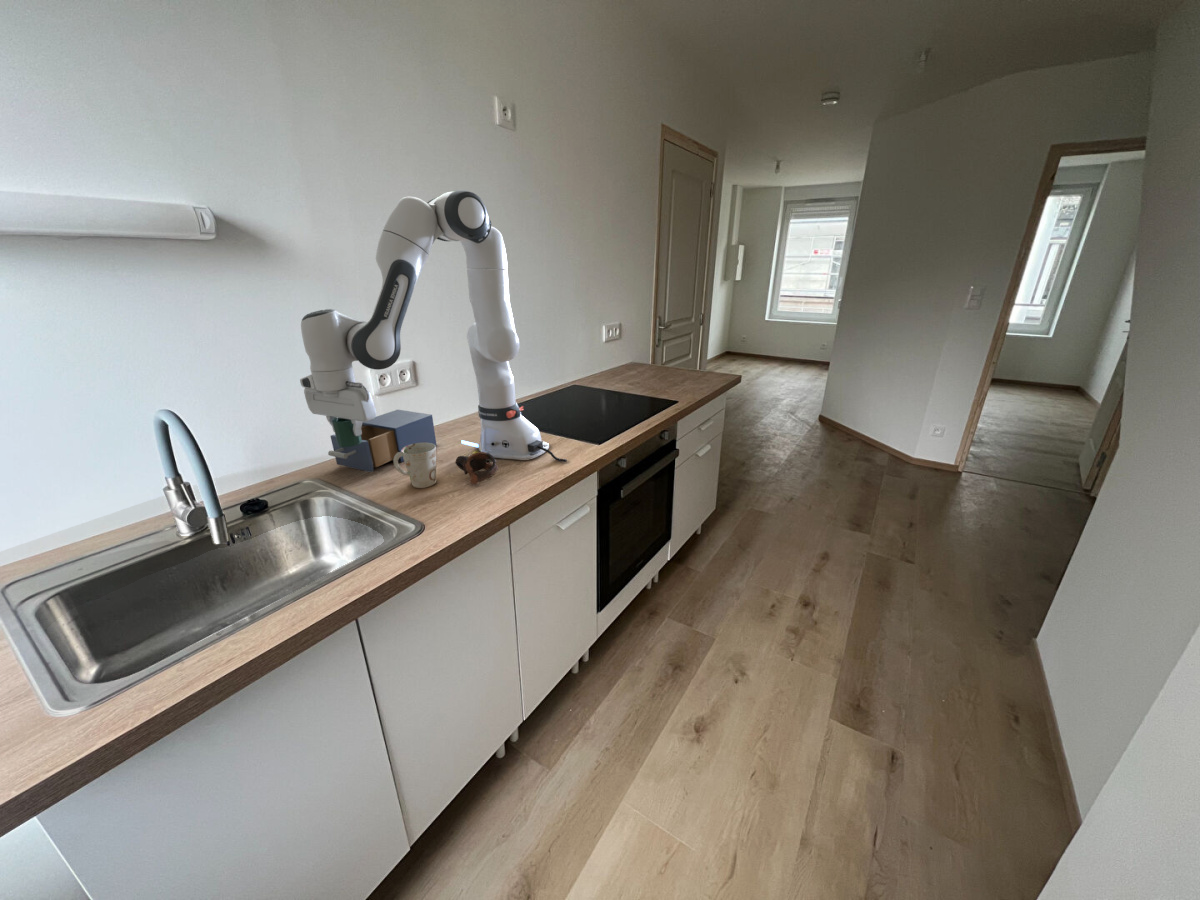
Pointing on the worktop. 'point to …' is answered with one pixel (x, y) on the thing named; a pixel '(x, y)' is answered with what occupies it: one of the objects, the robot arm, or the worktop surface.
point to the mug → (418, 463)
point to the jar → (345, 433)
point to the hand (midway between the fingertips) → (347, 433)
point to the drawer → (367, 449)
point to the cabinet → (406, 427)
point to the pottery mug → (477, 466)
